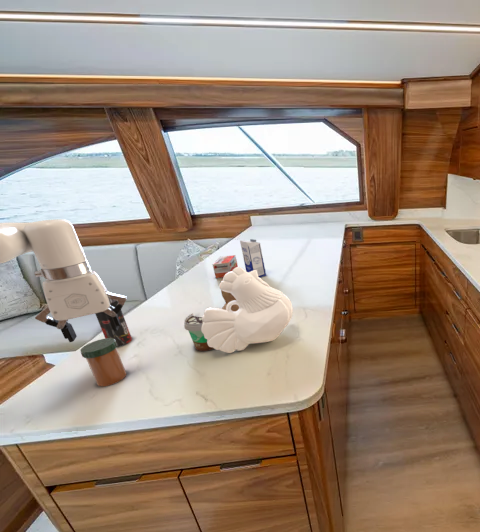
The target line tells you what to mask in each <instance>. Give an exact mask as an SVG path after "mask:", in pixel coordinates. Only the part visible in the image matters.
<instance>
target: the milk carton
mask: <svg viewBox="0 0 480 532" xmlns="http://www.w3.org/2000/svg"><path fill="white" fill-rule="evenodd" d="M239 243H240V247H241V253H242V257H243V258H242V259H243V262H244V267H245V271H246V272H251V271H253V270H257V273H258V277H260V278H263V277H266V276H267V273H266V268H265V263H264V258H263V257H264V256H263V252H262V246H261V242H258V241H257V239H253V238H251V239H249V240H245V239H243V240H239Z"/></svg>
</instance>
